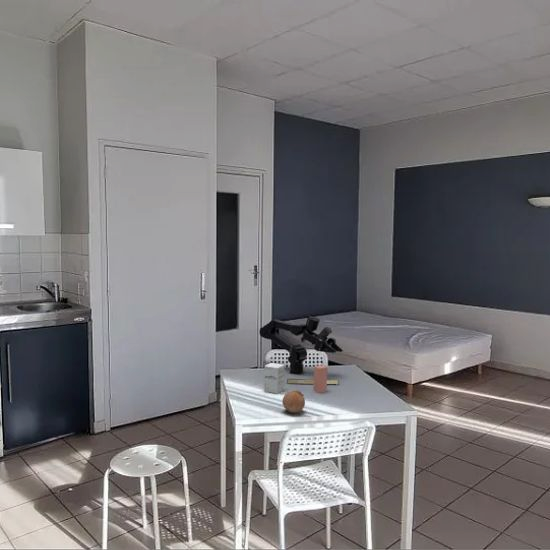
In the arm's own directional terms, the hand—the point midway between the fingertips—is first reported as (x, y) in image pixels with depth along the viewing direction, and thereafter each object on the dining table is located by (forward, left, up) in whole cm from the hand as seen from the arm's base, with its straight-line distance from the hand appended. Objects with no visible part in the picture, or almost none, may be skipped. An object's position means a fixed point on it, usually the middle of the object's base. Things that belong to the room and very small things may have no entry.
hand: (339, 351), depth 263 cm
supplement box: (-28, -25, -16) cm, 41 cm away
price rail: (-12, -8, -16) cm, 21 cm away
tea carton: (-7, -19, -16) cm, 26 cm away
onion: (-14, -51, -16) cm, 55 cm away
